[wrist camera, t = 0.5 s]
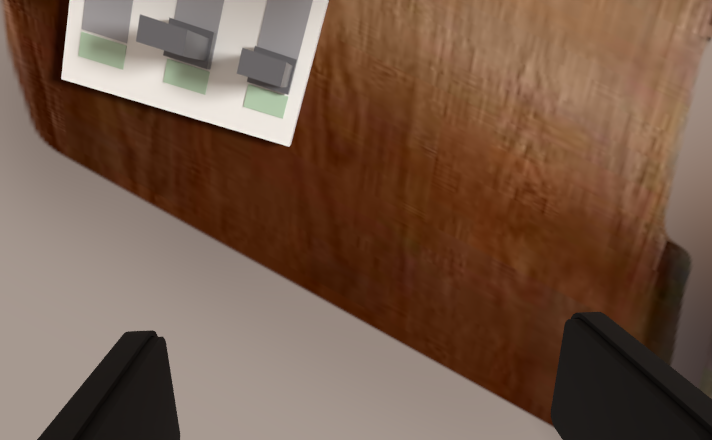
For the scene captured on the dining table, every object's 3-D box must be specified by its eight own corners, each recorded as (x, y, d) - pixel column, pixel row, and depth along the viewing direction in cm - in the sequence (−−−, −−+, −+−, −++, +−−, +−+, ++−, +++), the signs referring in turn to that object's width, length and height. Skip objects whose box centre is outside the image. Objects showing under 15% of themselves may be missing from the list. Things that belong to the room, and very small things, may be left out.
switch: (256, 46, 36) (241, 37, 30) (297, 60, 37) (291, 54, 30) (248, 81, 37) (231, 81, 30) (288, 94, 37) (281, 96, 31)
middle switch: (172, 19, 35) (138, 3, 28) (216, 33, 36) (192, 21, 29) (166, 56, 36) (131, 49, 29) (209, 69, 36) (184, 66, 30)
